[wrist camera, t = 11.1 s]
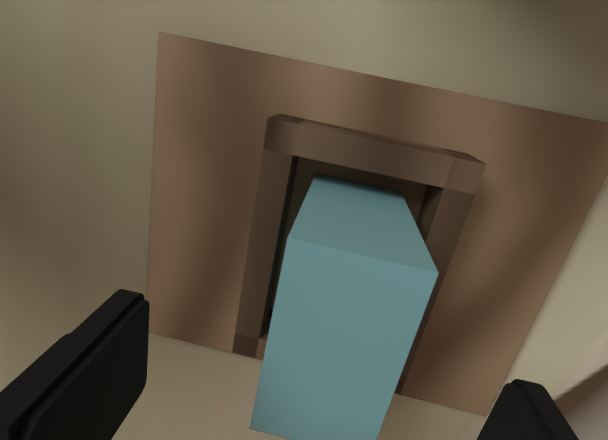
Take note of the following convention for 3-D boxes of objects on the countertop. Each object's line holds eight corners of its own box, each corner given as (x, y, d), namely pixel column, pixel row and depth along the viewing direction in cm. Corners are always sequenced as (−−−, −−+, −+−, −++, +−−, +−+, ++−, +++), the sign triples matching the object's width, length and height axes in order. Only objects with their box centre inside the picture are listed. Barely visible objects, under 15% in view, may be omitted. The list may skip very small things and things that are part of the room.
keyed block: (316, 172, 17) (287, 237, 10) (400, 191, 17) (438, 273, 9) (289, 298, 20) (249, 428, 12) (362, 316, 19) (368, 460, 12)
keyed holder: (153, 321, 22) (119, 360, 19) (169, 34, 17) (125, 21, 14) (480, 401, 21) (502, 457, 18) (613, 125, 16) (681, 135, 13)
